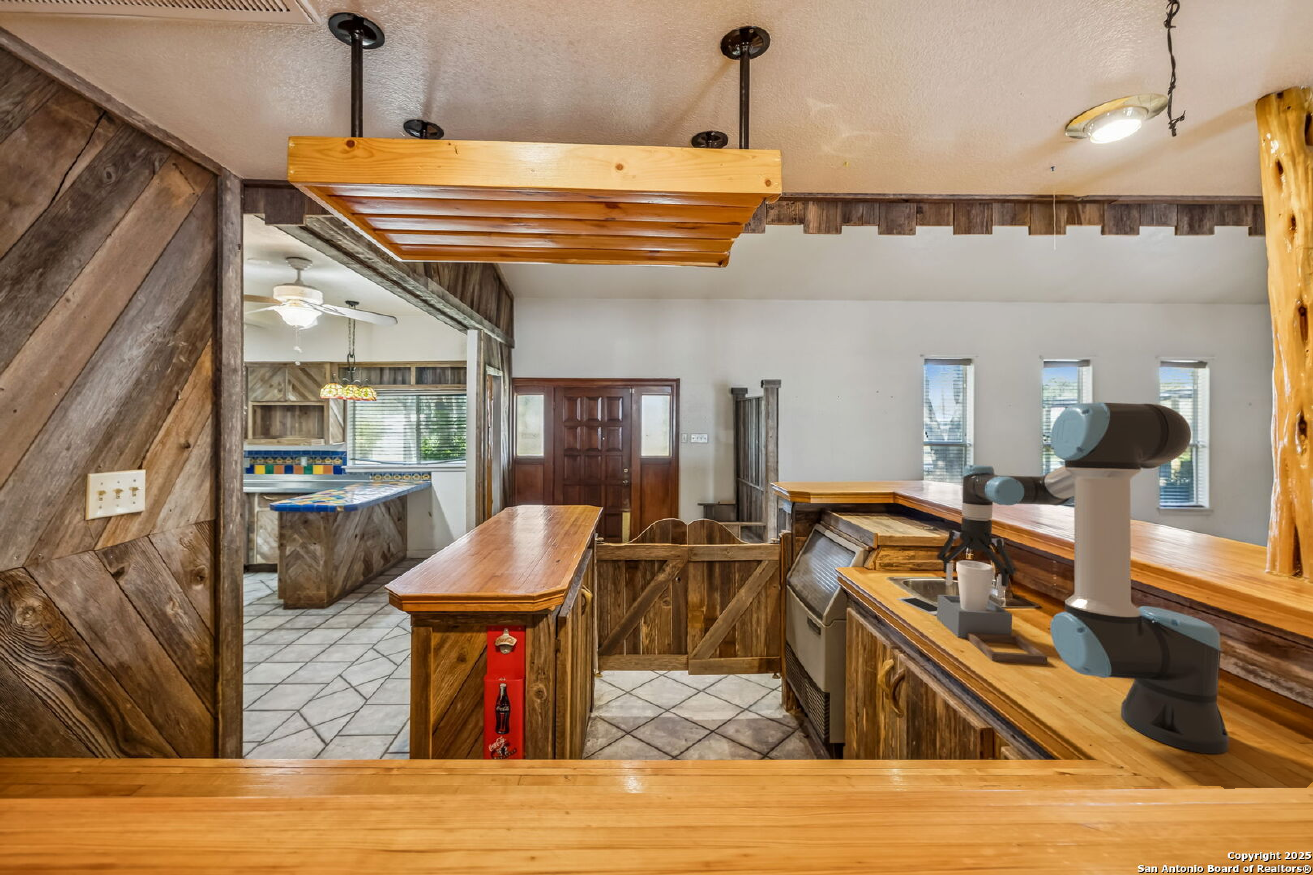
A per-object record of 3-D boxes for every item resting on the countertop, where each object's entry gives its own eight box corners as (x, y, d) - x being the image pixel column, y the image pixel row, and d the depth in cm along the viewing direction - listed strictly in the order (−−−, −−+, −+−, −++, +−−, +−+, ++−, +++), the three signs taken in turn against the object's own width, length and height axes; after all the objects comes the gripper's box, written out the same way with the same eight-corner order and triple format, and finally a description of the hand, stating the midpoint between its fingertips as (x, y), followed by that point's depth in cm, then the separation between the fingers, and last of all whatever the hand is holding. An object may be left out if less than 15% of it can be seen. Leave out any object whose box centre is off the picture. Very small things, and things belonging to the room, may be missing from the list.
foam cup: (948, 602, 157) (950, 560, 157) (979, 603, 157) (981, 560, 156) (966, 614, 148) (967, 569, 147) (999, 615, 147) (1001, 570, 147)
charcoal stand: (1011, 640, 145) (1012, 614, 145) (958, 637, 146) (959, 611, 146) (985, 621, 159) (986, 597, 158) (936, 618, 160) (937, 594, 160)
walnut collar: (1047, 664, 131) (1047, 656, 131) (992, 660, 132) (992, 652, 132) (1017, 642, 144) (1017, 635, 144) (967, 639, 145) (967, 632, 145)
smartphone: (933, 616, 163) (933, 613, 163) (896, 600, 177) (896, 597, 177) (950, 614, 165) (951, 611, 165) (912, 598, 180) (912, 595, 180)
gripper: (1031, 523, 144) (1028, 599, 145) (937, 510, 163) (935, 577, 164) (1022, 526, 139) (1019, 605, 140) (926, 512, 159) (924, 581, 159)
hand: (973, 590), depth 152 cm, fingers open, 13 cm apart
